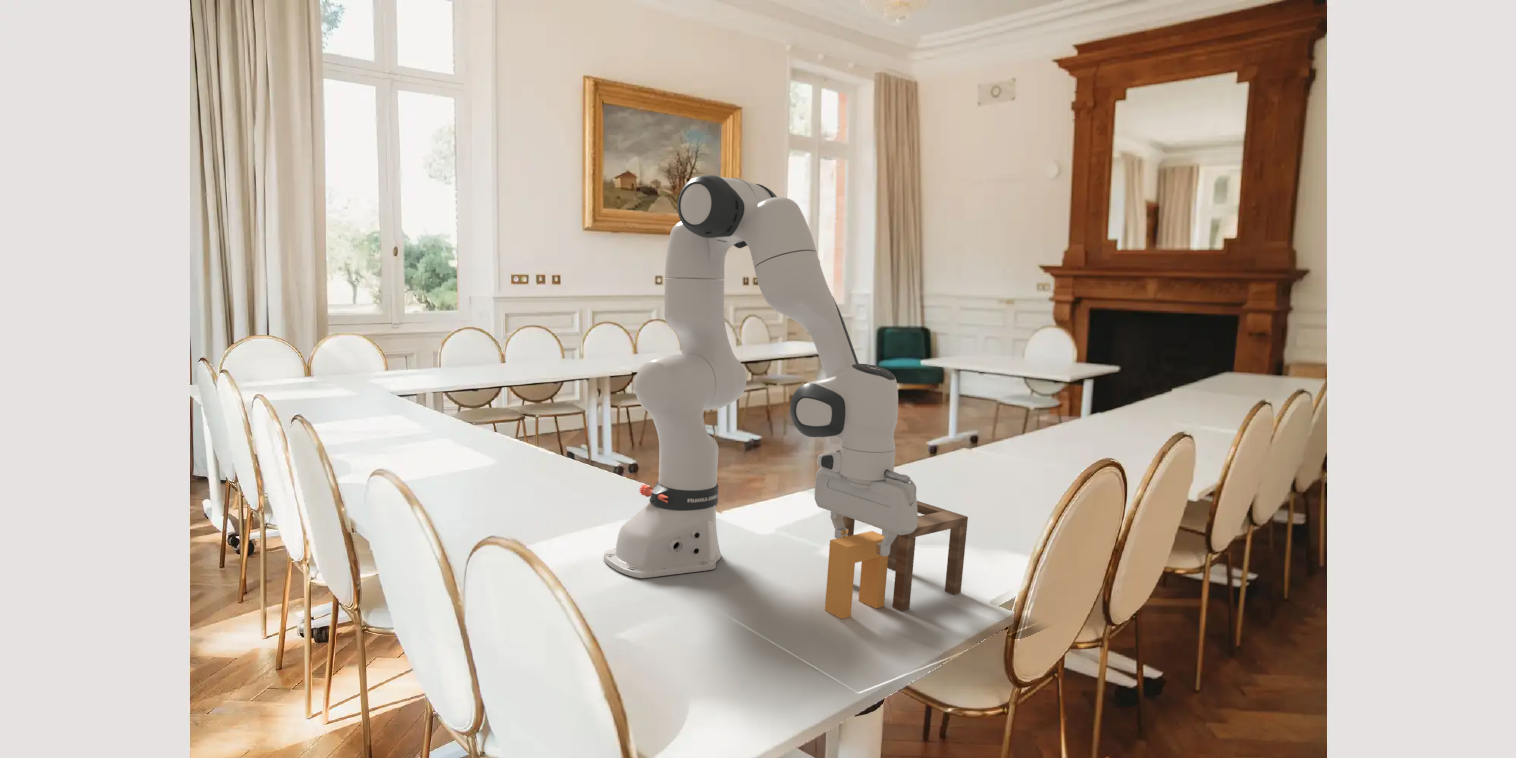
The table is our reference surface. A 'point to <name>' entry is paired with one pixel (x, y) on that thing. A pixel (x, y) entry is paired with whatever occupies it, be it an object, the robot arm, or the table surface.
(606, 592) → the table surface
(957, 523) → the brown stool
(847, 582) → the orange arch brick
